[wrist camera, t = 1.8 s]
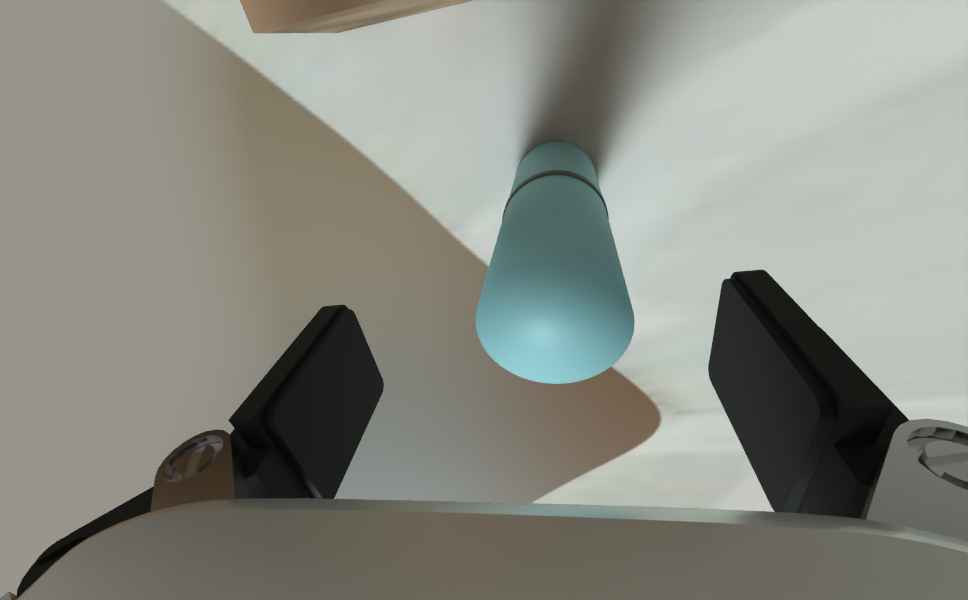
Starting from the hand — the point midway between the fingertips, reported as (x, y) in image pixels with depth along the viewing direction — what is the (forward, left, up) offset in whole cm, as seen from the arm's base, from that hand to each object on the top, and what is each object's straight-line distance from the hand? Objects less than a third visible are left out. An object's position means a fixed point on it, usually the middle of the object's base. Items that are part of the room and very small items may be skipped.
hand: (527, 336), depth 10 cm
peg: (-1, 0, -12) cm, 12 cm away
